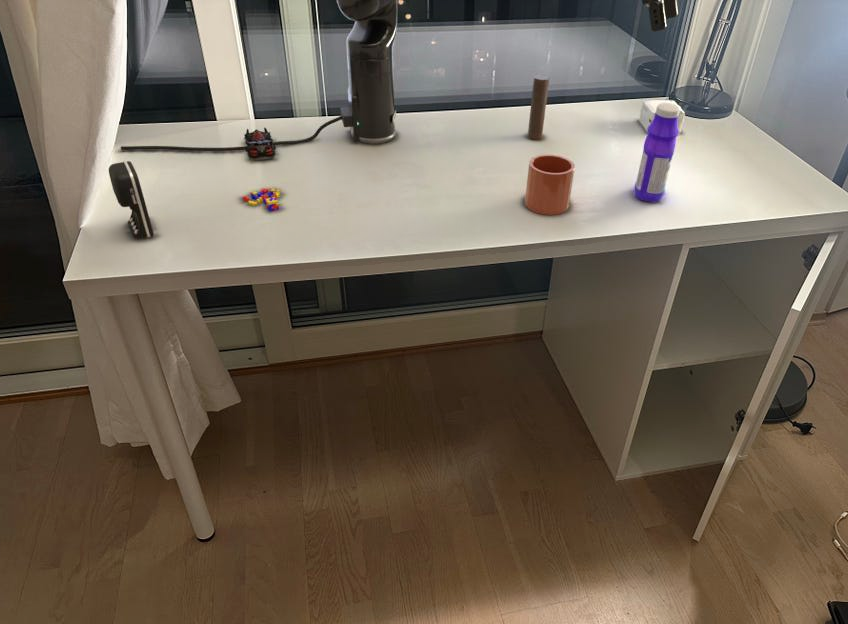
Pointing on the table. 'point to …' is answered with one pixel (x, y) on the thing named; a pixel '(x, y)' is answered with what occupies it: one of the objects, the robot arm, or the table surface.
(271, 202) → the building blocks
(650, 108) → the small box
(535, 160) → the holder
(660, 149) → the bottle
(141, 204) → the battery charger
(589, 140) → the table surface
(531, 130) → the dowel
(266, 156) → the toy car
